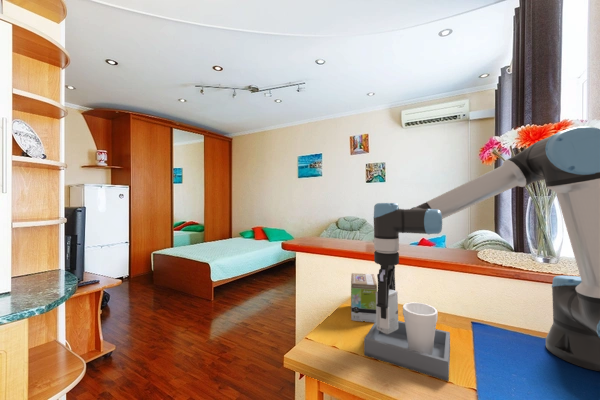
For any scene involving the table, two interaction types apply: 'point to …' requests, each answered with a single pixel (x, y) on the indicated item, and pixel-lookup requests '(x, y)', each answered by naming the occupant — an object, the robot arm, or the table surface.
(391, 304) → the skincare box
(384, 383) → the table surface
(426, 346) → the foam cup
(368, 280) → the tea box
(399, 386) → the table surface
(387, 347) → the tote
